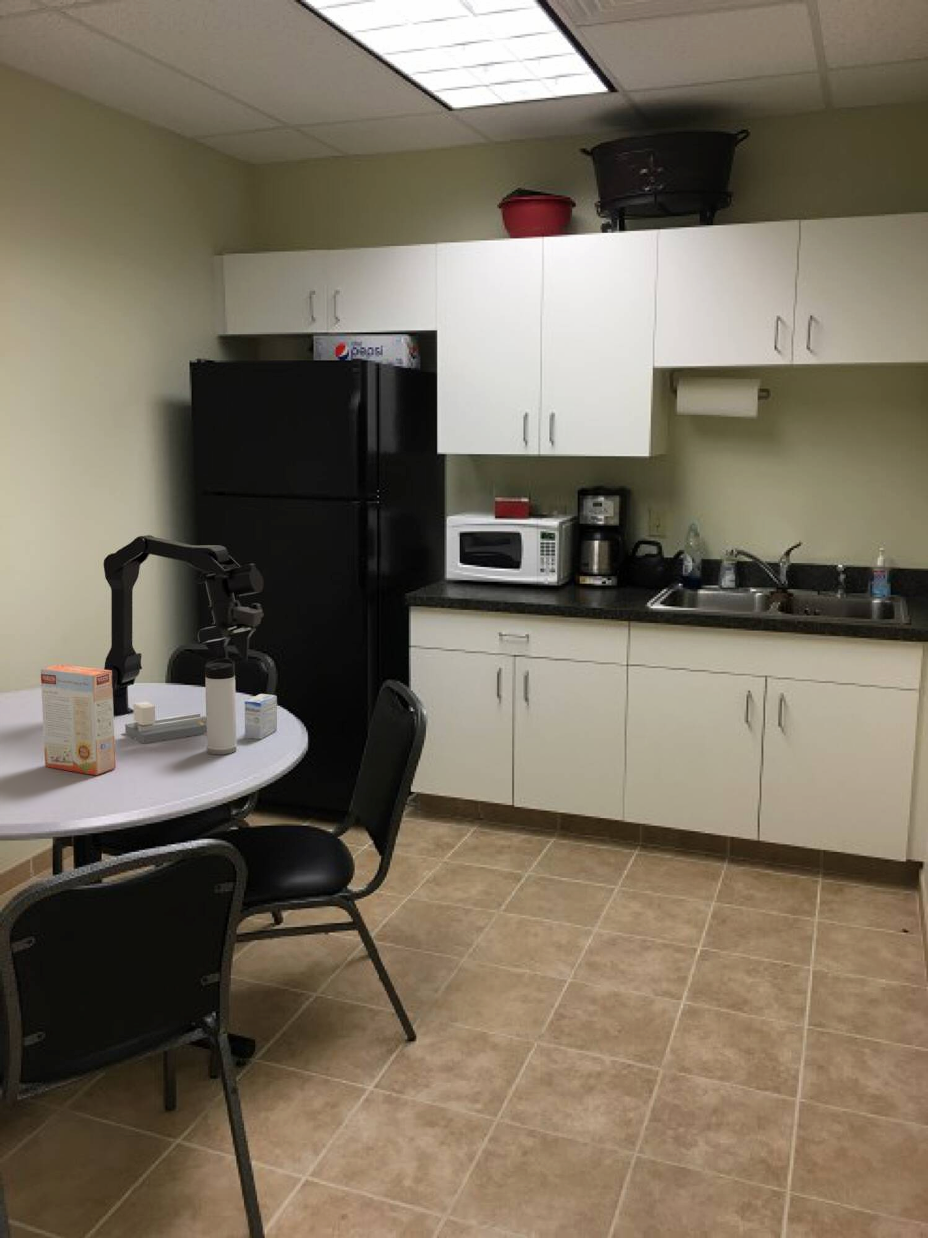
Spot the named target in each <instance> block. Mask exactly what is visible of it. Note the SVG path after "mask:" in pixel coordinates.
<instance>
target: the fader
mask: <svg viewBox="0 0 928 1238" xmlns="http://www.w3.org/2000/svg"><path fill="white" fill-rule="evenodd" d="M133 710H134V712H133V720H134V721H135V722H137V728H138V726H144V725H150V724H155V719H156V706H155V705H153V704H151V703H150V702H148V701H143V702H142V701H141V702H135V703H133Z"/></svg>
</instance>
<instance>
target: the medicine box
mask: <svg viewBox="0 0 928 1238" xmlns="http://www.w3.org/2000/svg"><path fill="white" fill-rule="evenodd" d="M277 730H278V697H277V695H275V694H266V693H259V694H257V695H255V696H253V697H252V698H250V699H247V700H245V701H244V738H246V739H252V738H254V740H263V739H264V738H266V737H268V736H269V735H272V734H273V733H275V732H277Z"/></svg>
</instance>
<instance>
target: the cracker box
mask: <svg viewBox="0 0 928 1238" xmlns="http://www.w3.org/2000/svg"><path fill="white" fill-rule="evenodd" d="M40 682H41V684H40V685H41V701H42V702H41V703H42V705H41V707H42V725H43V727H42V728H43V742H44V743H43V746H44V747H43V748H44V765H45V767H47V768H52V769H58V770H63V771H69V772H75V773H81V774H86V775H92V776H99V775H101V774H103V773H107V772H109V771H112V770H115V769H116V743H115V721H114V719H115V718H114V717H115V715H114V714H113V688H112V671H111V670H104V668H94V667H86V666H76V665H72V664H71V665H70V664H65V663H64V664H63V663H59V664H55V665H50V666H47V667H42V668H40Z"/></svg>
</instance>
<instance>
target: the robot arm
mask: <svg viewBox="0 0 928 1238" xmlns="http://www.w3.org/2000/svg"><path fill="white" fill-rule="evenodd" d="M150 555H152V556H157V557H163V558H167V559H169V560H170V559H171V560H176V561H178V562H179V561H180V562H185V563H187V564H189V566H191V567H192V568H194V569H197V570H199V571H201V572H202V573H201V575H200V576H199V578H198V579H197V580H196V584H198V585H199V584H200V585H201V584H204V583H205V586H206V592H207V595H208V599H209V606H207V607H206V608H207V611H208V612H210V611H211V615H212V617H213V623H210V626H208V627H205V628H201V629H199V631H198V632H197V634H196V635H197V640H198V643H201V642H202V645H203V646H205V647H206V648H207V649H208V650H209V651H210V652H211V653H212V655H213V656H214V657H215V658H216V660H223V658H229V652H228V643H229V641H230V639H231V640H232V642H233V644H234V646H235V649H236V650H237V652H238V654H239V657H240V659H241V660H242V661H243V662H247V661H248V659H249V647H250V639H251V636H252V635H253V634H254V632H255V631H256V630H257V627H258V626H259V625H260V624H261V621H262V618H263V617H264V616H265V614H264V613H263V611H264V610H263V609H262V606H261V603H256V602H255V603H252V604H250V606H242V605H241V601H239V600H236V599H235V596H237V597H241V596H247V595H253V594H257V593H261V592H262V591H263V589H264V577H263V575H262V574H261V571H259V569H257V568H256V564H255V563H250V564H245V565H243V566H241V565H240V564H239V563H238V562H237V561H236V560H235V559H234V558H233V557H232V556H231V555H230V553H229V552H228V549H227V547H225V546H223V545H220V544H219V545H215V544H214V545H210V544H208V545H205V544H203V545H193V544H189V543H184V542H178V541H174V540H169V539H165V538H160V537H155V536H153V535H151V534H145V535H140V536H137V537H136V538H134V539H133V540H132V541H130V543H128V544H127V545H125V546H122V547H121V548H120V549H118V550H117V551H116V552H112V553H109V554H108V555H106V557H104V559H103V571H104V577H105V580H106V581H107V584H108V587H110V591H111V592H110V593H111V600H110V602H111V605H110V606H111V607H110V608H111V610H110V611H111V614H110V615H111V616H110V617H111V622H110V623H111V625H110V627H111V628H110V629H111V631H110V632H111V634H110V635H111V640H110V642H111V644H110V645H111V646H110V649H109V651H108V653H107V655H106V658H105V661H104V666H103V670H111V671H112V688H113V714H114V716H115V715H116V716H117V715H124V714H129V713H130V714H131V713H134V708H133V709H132V708H131V707H129V686H132V685H134V684H135V682H136V679H137V677H138V676H139V674H140V672H141V670H143V667H142V656H143V655H142V653H141V652H139V653H137V652H136V651H135V648H134V646H133V592H134V591H133V589H134V587H135V584H136V582H137V581H138V578H139V575H140V569H141V568H140V567H141V565H142V564H143V563H144V562H145V561H146V560H148V558H149V556H150ZM210 573H212V574H210ZM224 574H226V575H224Z"/></svg>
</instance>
